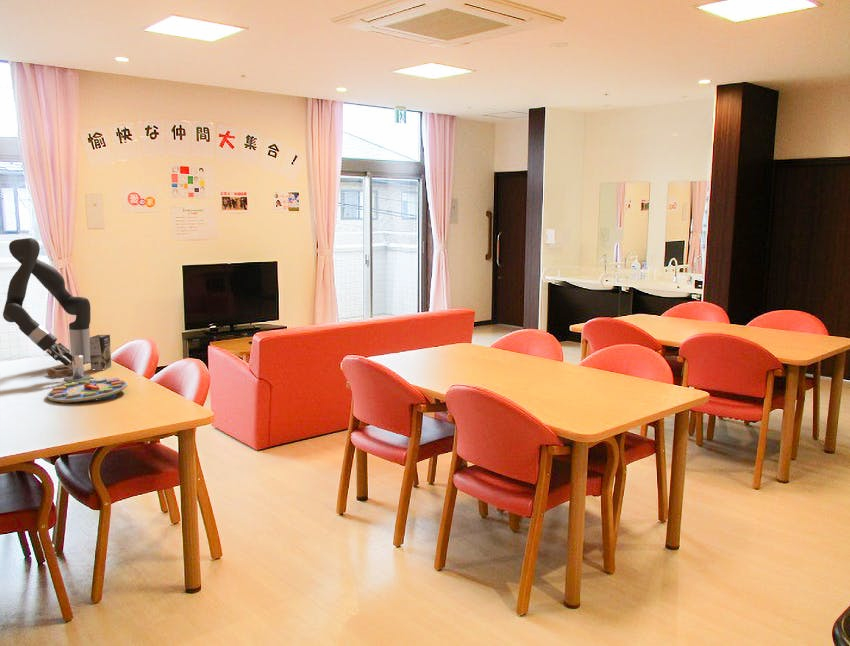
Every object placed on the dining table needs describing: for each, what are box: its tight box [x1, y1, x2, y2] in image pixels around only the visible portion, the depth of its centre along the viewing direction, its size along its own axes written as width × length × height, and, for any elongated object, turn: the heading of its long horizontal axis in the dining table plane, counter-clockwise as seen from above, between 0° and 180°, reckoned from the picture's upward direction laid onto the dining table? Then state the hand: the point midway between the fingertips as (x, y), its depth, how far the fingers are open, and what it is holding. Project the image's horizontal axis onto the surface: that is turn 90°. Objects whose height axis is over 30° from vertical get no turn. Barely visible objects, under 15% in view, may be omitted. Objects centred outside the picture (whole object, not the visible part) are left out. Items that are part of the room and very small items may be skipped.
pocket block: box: [46, 365, 73, 378], centre depth 338 cm, size 9×9×3 cm
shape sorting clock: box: [46, 377, 128, 404], centre depth 301 cm, size 31×30×6 cm
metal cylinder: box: [71, 355, 85, 379], centre depth 327 cm, size 4×4×10 cm
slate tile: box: [63, 374, 95, 383], centre depth 328 cm, size 9×9×1 cm
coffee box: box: [89, 334, 112, 371], centre depth 351 cm, size 9×6×16 cm
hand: (71, 362), depth 326 cm, fingers open, 8 cm apart
